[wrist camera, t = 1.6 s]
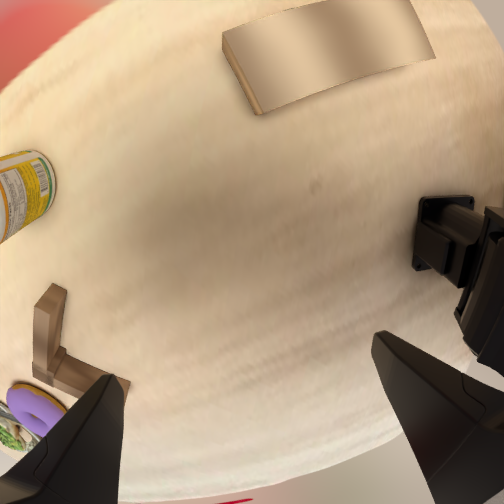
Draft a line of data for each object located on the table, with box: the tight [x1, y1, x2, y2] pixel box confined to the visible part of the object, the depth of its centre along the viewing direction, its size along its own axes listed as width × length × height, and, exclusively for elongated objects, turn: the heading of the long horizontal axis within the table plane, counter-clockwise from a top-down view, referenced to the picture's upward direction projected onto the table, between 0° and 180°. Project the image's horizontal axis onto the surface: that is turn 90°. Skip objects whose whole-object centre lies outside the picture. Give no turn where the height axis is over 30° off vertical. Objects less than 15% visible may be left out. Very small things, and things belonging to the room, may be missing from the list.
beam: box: [222, 0, 436, 115], centre depth 14 cm, size 12×5×4 cm, turn 115°
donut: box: [6, 384, 67, 437], centre depth 26 cm, size 10×9×5 cm
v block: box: [32, 284, 130, 406], centre depth 23 cm, size 8×13×4 cm, turn 17°
